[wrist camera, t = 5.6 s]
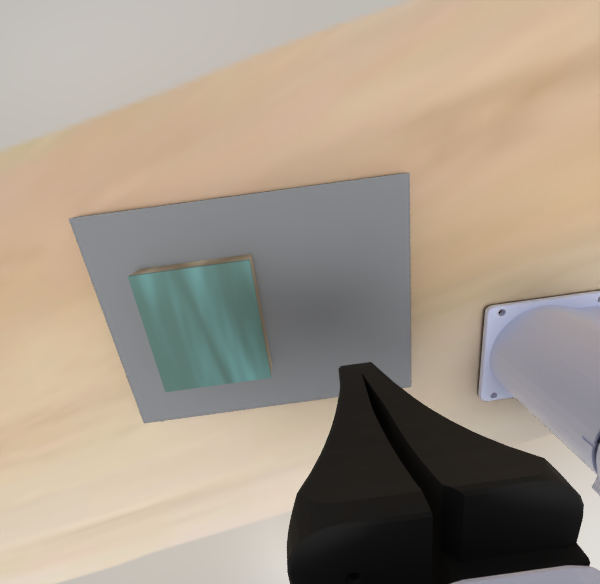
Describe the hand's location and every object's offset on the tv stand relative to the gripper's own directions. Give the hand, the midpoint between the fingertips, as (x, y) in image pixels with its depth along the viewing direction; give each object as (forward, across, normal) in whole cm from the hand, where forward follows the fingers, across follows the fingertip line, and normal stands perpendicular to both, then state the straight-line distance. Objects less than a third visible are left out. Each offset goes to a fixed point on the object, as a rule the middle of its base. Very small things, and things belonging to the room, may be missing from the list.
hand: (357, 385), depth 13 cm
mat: (+9, +4, 0) cm, 10 cm away
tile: (+8, +4, 0) cm, 9 cm away
